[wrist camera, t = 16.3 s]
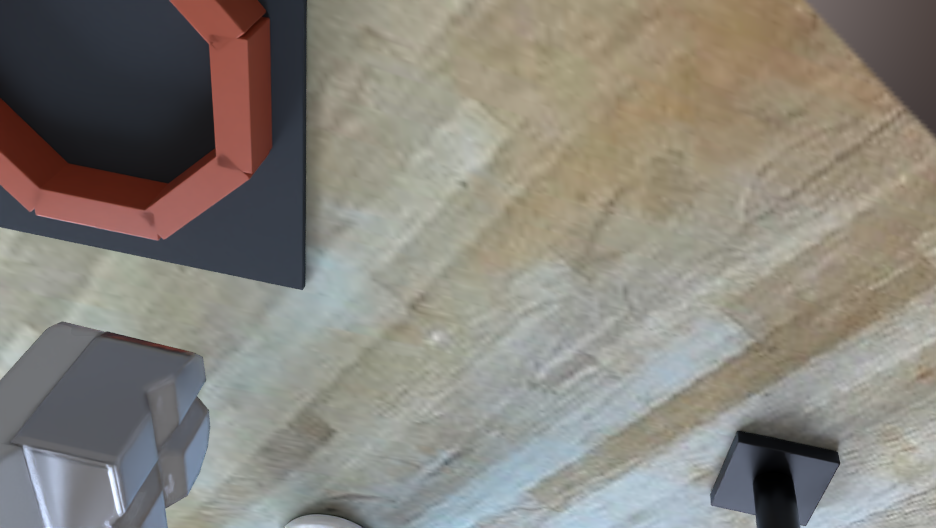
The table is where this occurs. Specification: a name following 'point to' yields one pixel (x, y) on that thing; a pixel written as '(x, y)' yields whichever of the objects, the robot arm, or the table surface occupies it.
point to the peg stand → (773, 480)
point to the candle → (321, 522)
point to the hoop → (199, 187)
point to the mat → (158, 124)
